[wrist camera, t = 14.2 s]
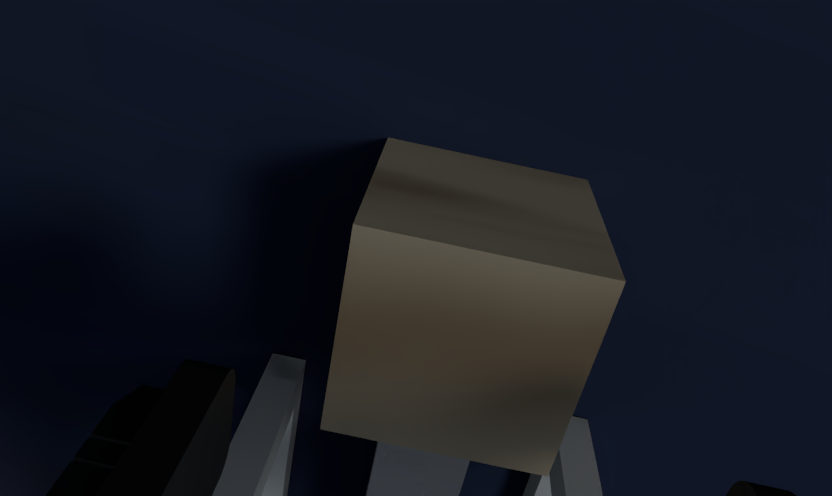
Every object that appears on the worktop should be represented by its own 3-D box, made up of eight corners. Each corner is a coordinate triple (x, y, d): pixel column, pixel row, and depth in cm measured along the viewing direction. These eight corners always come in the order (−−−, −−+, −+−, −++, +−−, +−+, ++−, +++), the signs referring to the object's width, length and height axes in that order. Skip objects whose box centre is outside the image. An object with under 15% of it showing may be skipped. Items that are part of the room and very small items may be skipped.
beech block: (532, 340, 19) (548, 476, 14) (358, 304, 19) (320, 428, 14) (586, 178, 16) (625, 281, 12) (388, 136, 16) (353, 223, 12)
